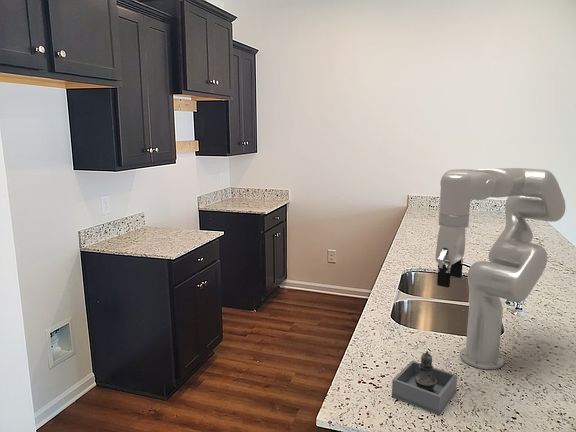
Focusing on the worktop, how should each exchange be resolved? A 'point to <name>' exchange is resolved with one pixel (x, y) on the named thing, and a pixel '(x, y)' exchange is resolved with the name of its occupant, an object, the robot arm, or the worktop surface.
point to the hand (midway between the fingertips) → (449, 281)
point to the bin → (414, 395)
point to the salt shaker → (425, 374)
